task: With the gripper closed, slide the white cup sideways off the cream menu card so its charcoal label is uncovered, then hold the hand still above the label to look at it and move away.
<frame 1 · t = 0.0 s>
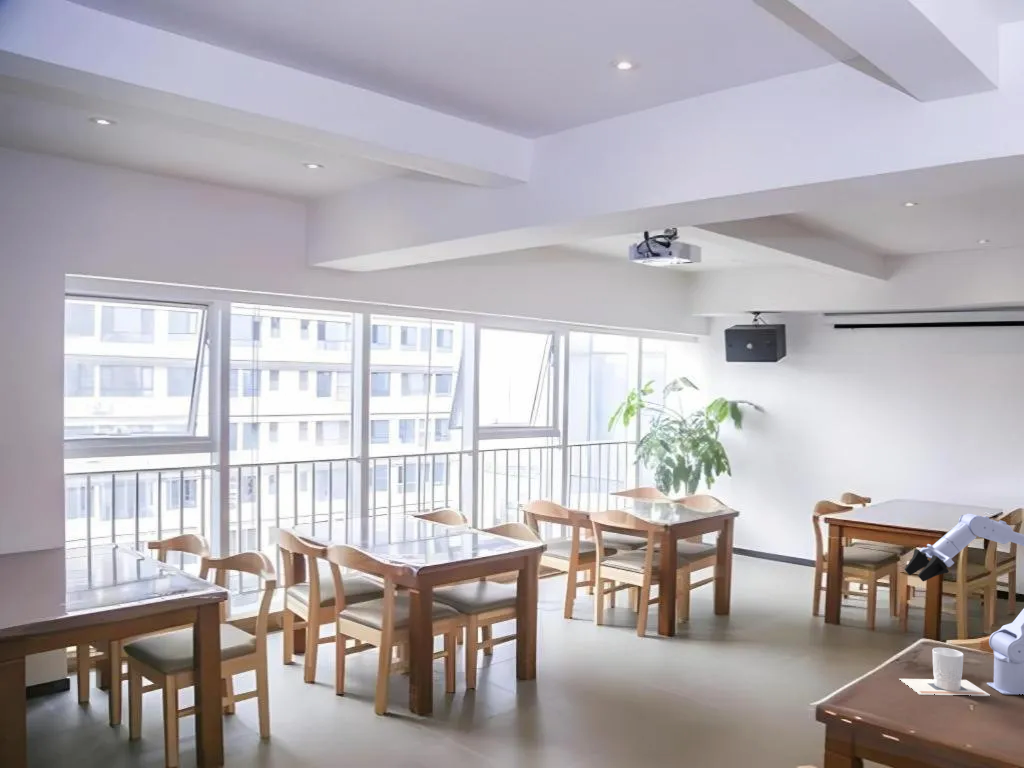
hand: (913, 575, 230), 32 cm above the table, tool tilted 50°, fingers open, 7 cm apart
white cup: (947, 687, 231), resting on menu card
menu card: (943, 687, 231), on the table
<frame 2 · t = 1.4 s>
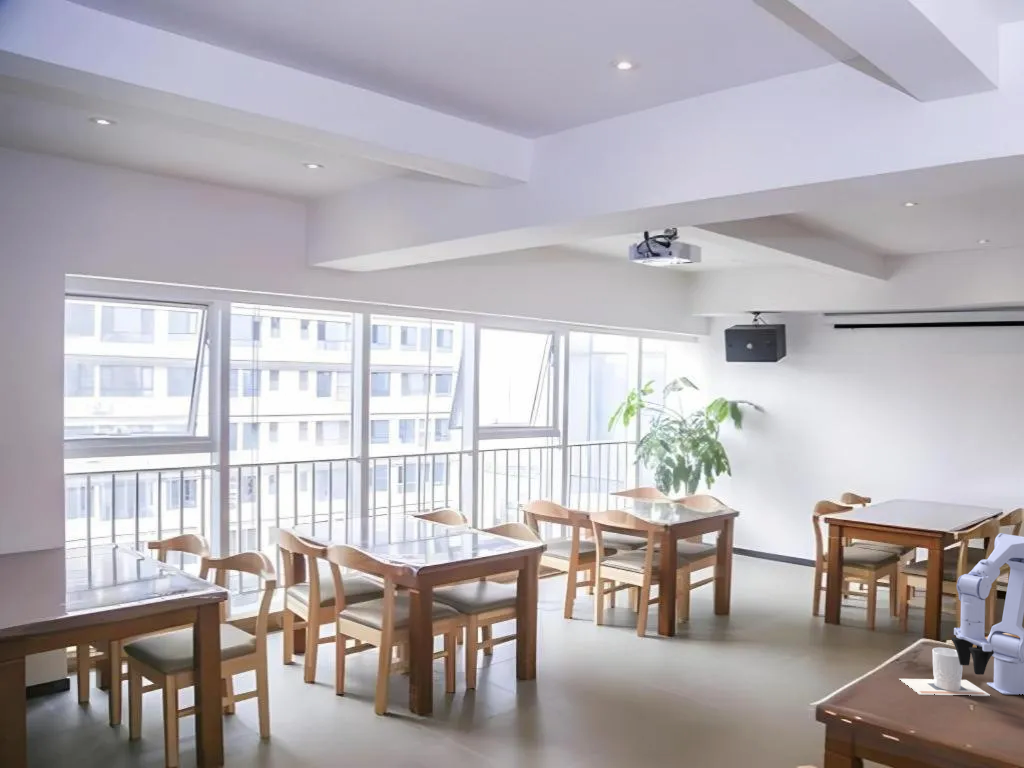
hand: (971, 669, 219), 9 cm above the table, tool pointing down, fingers open, 6 cm apart
nothing on the table moved.
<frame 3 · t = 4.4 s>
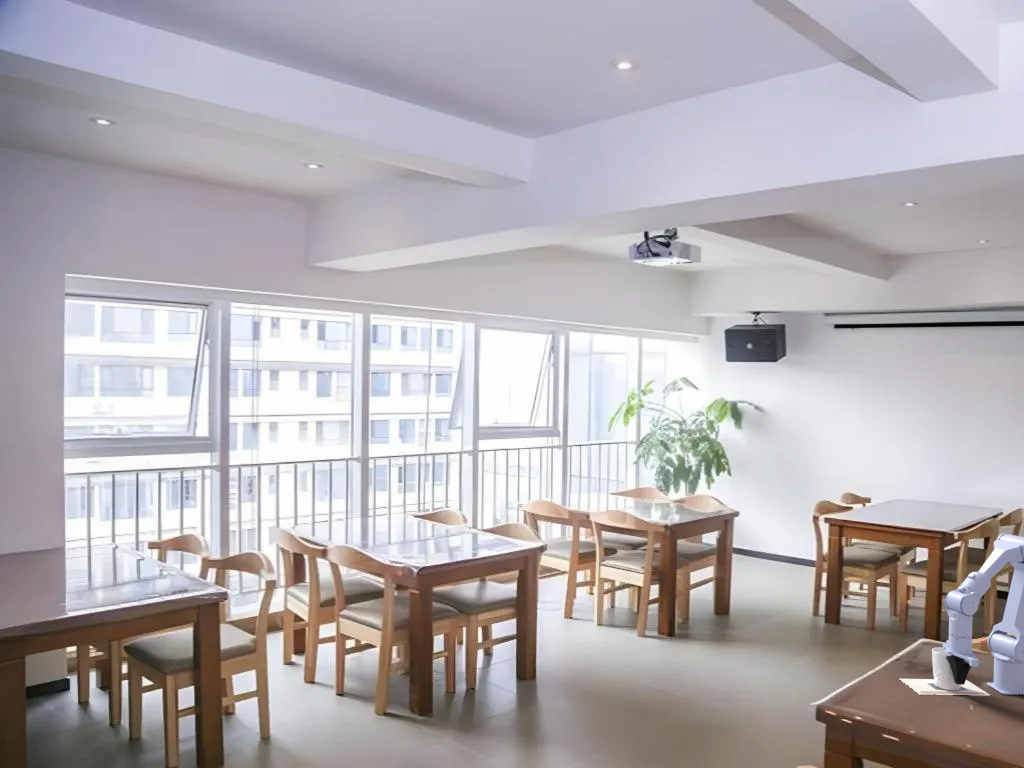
hand: (959, 683, 225), 3 cm above the table, tool pointing down, fingers closed
white cup: (947, 687, 231), resting on menu card, touching gripper
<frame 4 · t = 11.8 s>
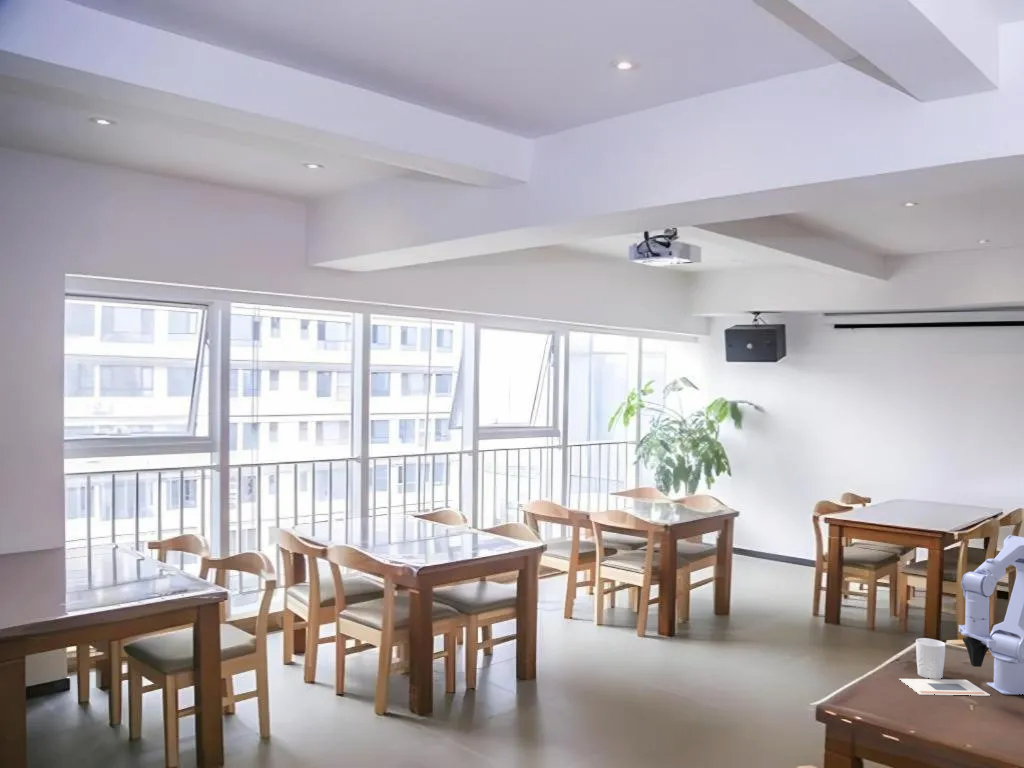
hand: (976, 665, 222), 9 cm above the table, tool pointing down, fingers closed
white cup: (929, 676, 241), on the table
at the end: white cup inside the target area (3.4 cm from its centre), on the table; white cup touching table; white cup tilted 0° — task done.
